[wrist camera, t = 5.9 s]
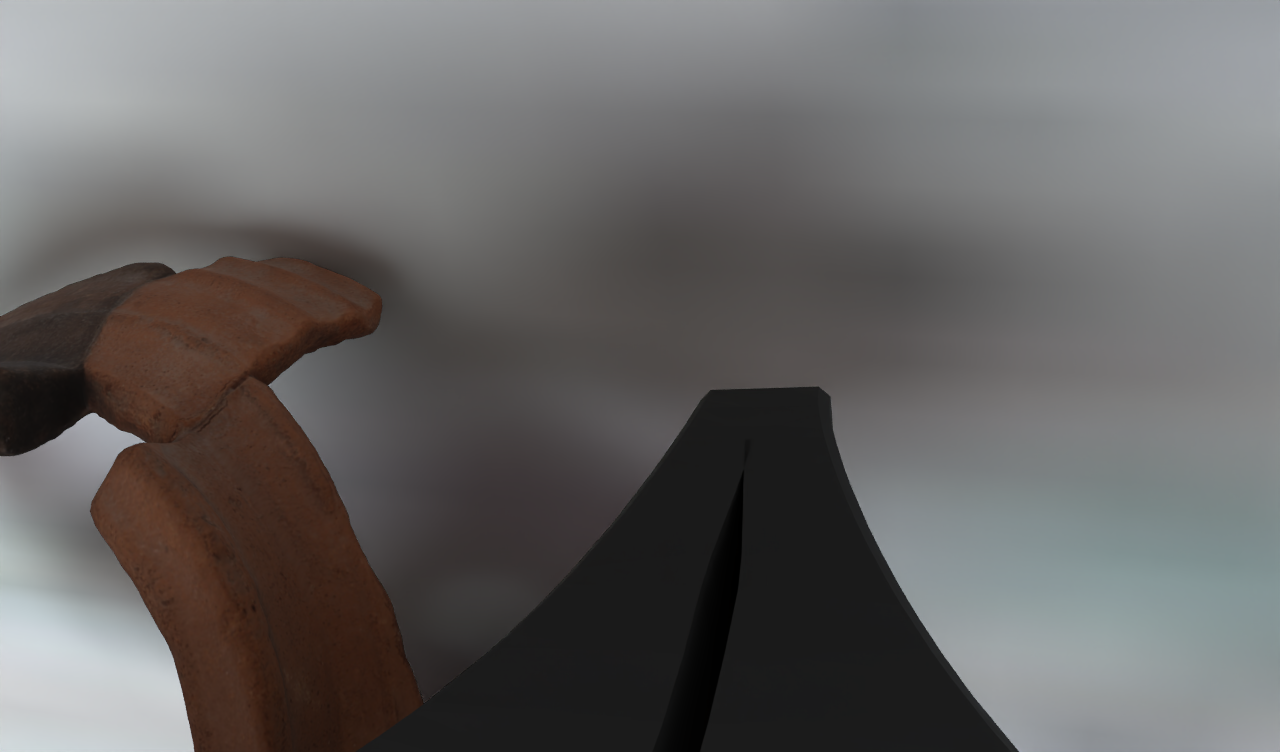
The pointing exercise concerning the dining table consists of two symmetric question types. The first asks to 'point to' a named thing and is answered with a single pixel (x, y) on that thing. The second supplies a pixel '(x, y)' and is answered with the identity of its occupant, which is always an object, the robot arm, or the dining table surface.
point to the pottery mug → (222, 490)
